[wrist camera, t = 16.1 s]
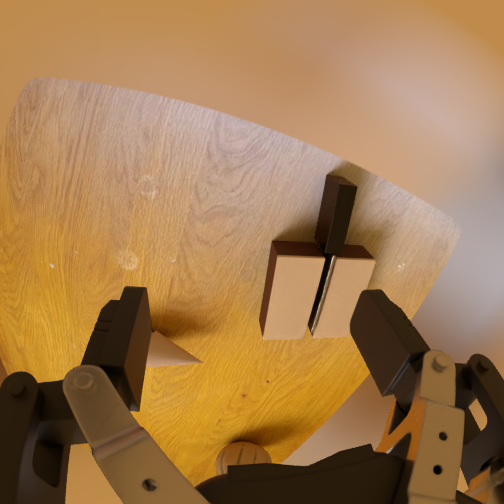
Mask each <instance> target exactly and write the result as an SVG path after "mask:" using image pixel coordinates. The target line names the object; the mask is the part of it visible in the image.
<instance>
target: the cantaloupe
mask: <svg viewBox="0 0 504 504" xmlns="http://www.w3.org/2000/svg"><path fill="white" fill-rule="evenodd" d="M258 463H272V462H271V458H270V456H269V454H268V452H267V451H266V450H265V449H263V448H262V447H260V446H259V445H256V444H253V443H250V442H244V441H242V442H235V443H232V444H230V445H228V446H226V447H224V448H223V449H222V450H221V451H220V453H219V454H218V456H217V459H216V473H217V475H221V474H225V473H227V465H244V464H258Z"/></svg>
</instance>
